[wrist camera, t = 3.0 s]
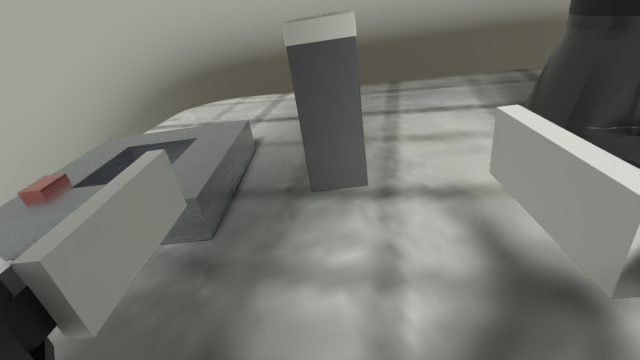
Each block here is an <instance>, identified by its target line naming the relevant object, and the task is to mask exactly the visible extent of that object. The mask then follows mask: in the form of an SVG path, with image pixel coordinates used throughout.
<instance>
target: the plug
mask: <svg viewBox="0 0 640 360" xmlns="http://www.w3.org/2000/svg"><path fill="white" fill-rule="evenodd" d="M281 25H282V31H283V37H284V42H285V46H286V47H287V53H288V59H289V65H290V70H291V76H292V82H293V88H294V93H295V99H296V105H297V110H298V116H299V122H300V127H301V133H302V139H303V144H304V150H305V156H306V161H307V167H308V173H309V178H310V184H311V190H312V191H321V190H330V189H339V188H349V187H358V186H367V185H368V182H367V170H366V157H365V145H364V133H363V121H362V109H361V97H360V85H359V72H358V61H357V49H356V25H355V13H354V12H353V11H350V10H348V11H341V12H335V13H328V14H322V15H315V16H309V17H303V18H296V19H290V20H288V21H286V22H284V23H282V24H281Z"/></svg>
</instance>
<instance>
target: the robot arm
mask: <svg viewBox="0 0 640 360" xmlns="http://www.w3.org/2000/svg"><path fill="white" fill-rule="evenodd" d="M489 172H490V173H491V174H492V175H493V176H494V177H495V179H496V180H497V181H498V182H499V183H500V184H501V185H502V186H503V187H504V188H505V189H506V190H507V191H508V192H509V193H510V194H511V195H512V196H513V197H514V198H515V199H516V201H517V202H518V203H519V204H520V205H521V206H522V207H523V208H524V209H525V210H526V211H527V212H528V213H529V214H530V215H531V216H532V217H533V218H534V219H535V220H536V221H537V223H538V224H539V225H540V226H541V227H542V228H543V229H544V230H545V231H546V232H547V233H548V234H549V235H550V236H551V237H552V238H553V239H554V240H555V241H556V242H557V243H558V245H559V246H560V247H561V248H562V249H563V250H564V251H565V252H566V253H567V254H568V255H569V256H570V257H571V258H572V259H573V260H574V261H575V262H576V263H577V264H578V265H579V266H580V268H581V269H582V270H583V271H584V272H585V273H586V274H587V275H588V276H589V277H590V278H591V279H592V280H593V281H594V282H595V283H596V284H597V285H598V286H599V287H600V288H601V290H602V291H603V292H604V293H605V294H606V295H607V296H608V297H609V298H610V299H617V298H630V297H640V0H571V3H570V9H569V14H568V19H567V24H566V27H565V30H564V32H563V34H562V36H561V38H560V39H559V41H558V43H557V45H556V47H555V49H554V51H553V53H552V54H551V56H550V58H549V60H548V62H547V64H546V65H545V67H544V69H543V71H542V73H541V75H540V77H539V79H538V81H537V83H536V85H535V87H534V89H533V91H532V93H531V94H530V96H529V97H528V99H527V101H526V104H525V107H522V106H520V105H510V106H502V107H497V111H496V119H495V128H494V137H493V145H492V154H491V163H490V171H489ZM186 206H187V204H186V202H185V199H184V196H183V194H182V191H181V189H180V186H179V184H178V181H177V179H176V176H175V173H174V171H173V168H172V166H171V163H170V161H169V158H168V156H167V153H166V150H165V149H161V150H154V151H147V152H146V153H145V154H143V155H142V156H141V157H140V158H138V159H137V160H136V161H135V162H134V163H132V164H131V165H130V166H129V167H127V168H126V169H125V170H124V171H123V172H121V173H120V174H119V175H118V176H116V177H115V178H114V179H113V180H112V181H110V182H109V183H108V184H107V185H105V186H104V187H103V188H102V189H101V190H99V191H98V192H97V193H96V194H94V195H93V196H92V197H91V198H90V199H88V200H87V201H86V202H85V203H83V204H82V205H81V206H80V207H79V208H77V209H76V210H75V211H74V212H72V213H71V214H70V215H69V216H68V217H66V218H65V219H64V220H63V221H61V222H60V223H59V224H58V225H57V226H55V227H54V228H53V229H52V230H50V231H49V232H48V233H47V234H46V235H44V236H43V237H42V238H41V239H39V240H38V241H37V242H36V243H35V244H33V245H32V246H31V247H30V248H28V249H27V250H26V251H25V252H24V253H22V254H21V255H20V256H19V257H17V258H16V259H15V260H14V261H13V262H11V263H10V265H11V266H10V267H8V268H7V269H6V270H5V271H3V272H2V273H1V274H0V360H55V357H54V346H53V344H52V342H51V341H50V340H49V338H48V337H47V336H48V335H49V334H50V333H51V331H52V330H53V329H54V328H55V327H56V326H58V328H59V329H60V330H61V332H62V333H63V334H64V336H65V337H66V338H67V339H68V340H78V339H91V338H95V336H96V335H97V334H98V332H99V331H100V329H101V328H102V326H103V325H104V324H105V322H106V321H107V319H108V318H109V316H110V315H111V314H112V312H113V311H114V309H115V308H116V306H117V305H118V304H119V302H120V301H121V299H122V298H123V296H124V295H125V294H126V292H127V291H128V289H129V288H130V286H131V285H132V283H133V282H134V281H135V279H136V278H137V276H138V275H139V273H140V272H141V271H142V269H143V268H144V266H145V265H146V263H147V262H148V261H149V259H150V258H151V256H152V255H153V253H154V252H155V251H156V249H157V248H158V246H159V245H160V243H161V242H162V241H163V239H164V238H165V236H166V235H167V233H168V232H169V231H170V229H171V228H172V226H173V225H174V223H175V222H176V220H177V219H178V218H179V216H180V215H181V213H182V212H183V210H184V209H185V208H186Z"/></svg>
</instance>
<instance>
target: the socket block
mask: <svg viewBox="0 0 640 360" xmlns="http://www.w3.org/2000/svg"><path fill="white" fill-rule="evenodd" d="M161 149H165V150H166V153H167V156H168V158H169V161H170V163H171V166H172V168H173V171H174V173H175V176H176V179H177V181H178V184H179V186H180V189H181V191H182V194H183V196H184V199H185V202H186V204H187V206H186V208H185V209H184V210H183V212H182V213H181V215H180V216H179V218H178V219H177V220H176V222H175V223H174V225H173V226H172V228H171V229H170V231H169V232H168V233H167V235H166V236H165V238H164V239H163V241H162V242H161V243H160V244H170V243H180V242H190V241H199V240H209V239H212V238H213V236H214V233H215V231H216V229H217V227H218V225H219V223H220V221H221V219H222V217H223V215H224V213H225V211H226V209H227V207H228V205H229V203H230V201H231V199H232V197H233V195H234V193H235V191H236V189H237V187H238V185H239V183H240V181H241V179H242V177H243V175H244V173H245V170H246V168H247V166H248V164H249V162H250V160H251V158H252V156H253V154H254V152H255V150H256V147H255V143H254V140H253V136H252V132H251V128H250V124H249V120H246V121H238V122H231V123H223V124H216V125H208V126H201V127H193V128H186V129H178V130H170V131H163V132H155V133H148V134H140V135H133V136H125V137H118V138H111V139H108V140H107V141H105V142H104V143H102V144H100V145H99V146H97V147H96V148H94V149H92V150H91V151H89V152H88V153H86V154H84V155H83V156H81V157H79V158H78V159H77V160H75V161H73V162H71V163H70V164H68V165H67V166H65V167H64V168H62V169H60V170H59V171H57V172H56V173H54V174H52V175H49V176H44V177H43V178H41V179H39V180H38V181H36V182H34V183H33V184H31V185H29V186H28V187H26V188H25V189H23V190H21V191H20V192H18V195H19V196H17V197H15V198H14V199H12V200H11V201H9V202H7V203H6V204H4V205H2V206H1V207H0V256H1V257H2V258H3V260H13V259H16V258H17V257H19V256H20V255H21V254H22V253H24V252H25V251H26V250H27V249H28V248H30V247H31V246H32V245H33V244H35V243H36V242H37V241H38V240H39V239H41V238H42V237H43V236H44V235H46V234H47V233H48V232H49V231H50V230H52V229H53V228H54V227H55V226H57V225H58V224H59V223H60V222H61V221H63V220H64V219H65V218H66V217H68V216H69V215H70V214H71V213H72V212H74V211H75V210H76V209H77V208H79V207H80V206H81V205H82V204H83V203H85V202H86V201H87V200H88V199H90V198H91V197H92V196H93V195H94V194H96V193H97V192H98V191H99V190H101V189H102V188H103V187H104V186H105V185H107V184H108V183H109V182H110V181H112V180H113V179H114V178H115V177H116V176H118V175H119V174H120V173H121V172H123V171H124V170H125V169H126V168H127V167H129V166H130V165H131V164H132V163H134V162H135V161H136V160H137V159H138V158H140V157H141V156H142V155H143V154H145V153H146V152H147V151H154V150H161Z"/></svg>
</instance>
